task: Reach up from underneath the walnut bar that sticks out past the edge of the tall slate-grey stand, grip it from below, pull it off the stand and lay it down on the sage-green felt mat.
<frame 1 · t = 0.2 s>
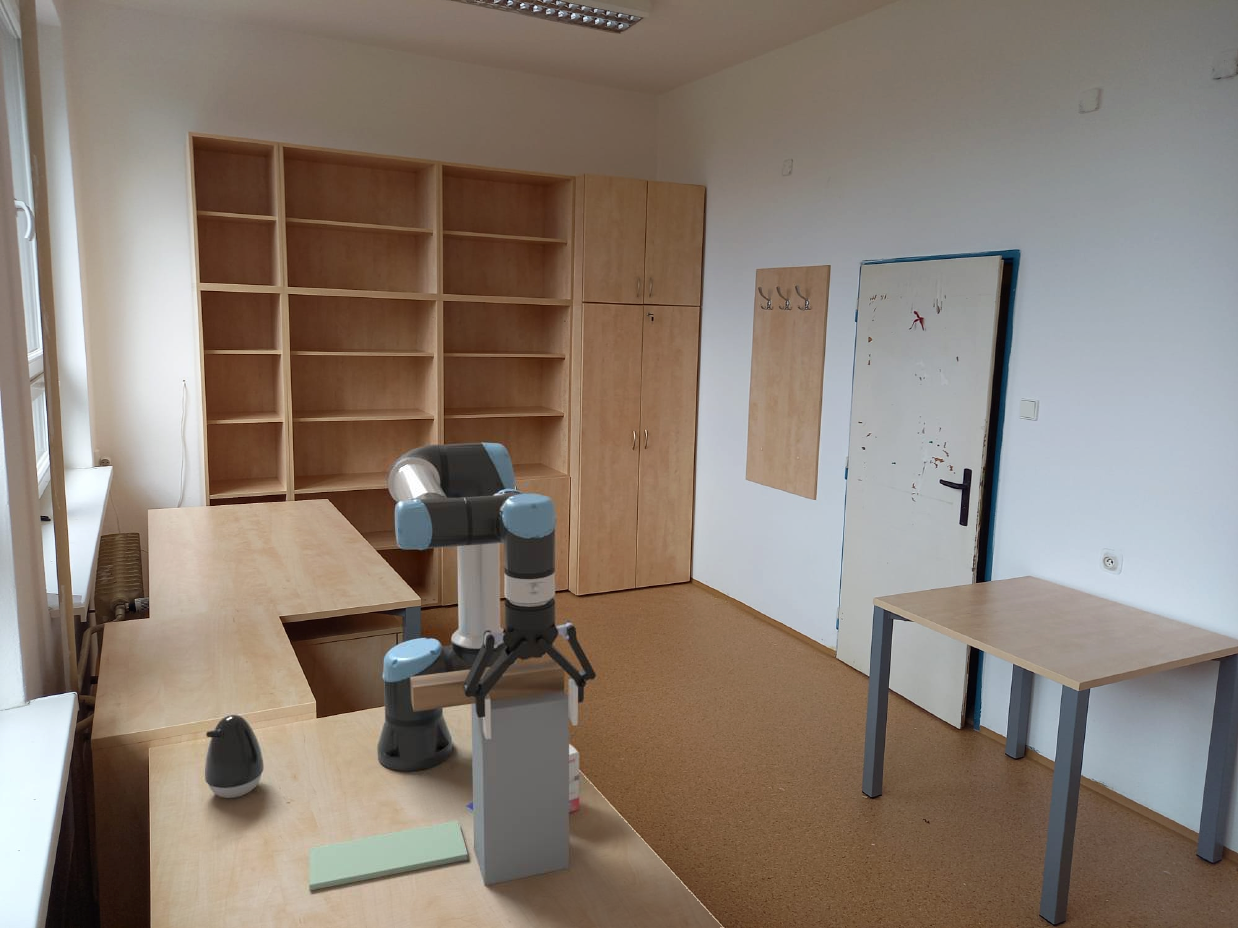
hand: (530, 727, 132), 27 cm above the table, tool pointing down, fingers open, 13 cm apart
mat: (388, 855, 144), on the table
pump dispenser: (235, 791, 162), on the table
walnut bar: (488, 695, 137), point 30 cm above the table, touching stand
ink box: (553, 810, 158), on the table
stand: (520, 858, 144), on the table
hard drive: (505, 806, 160), on the table
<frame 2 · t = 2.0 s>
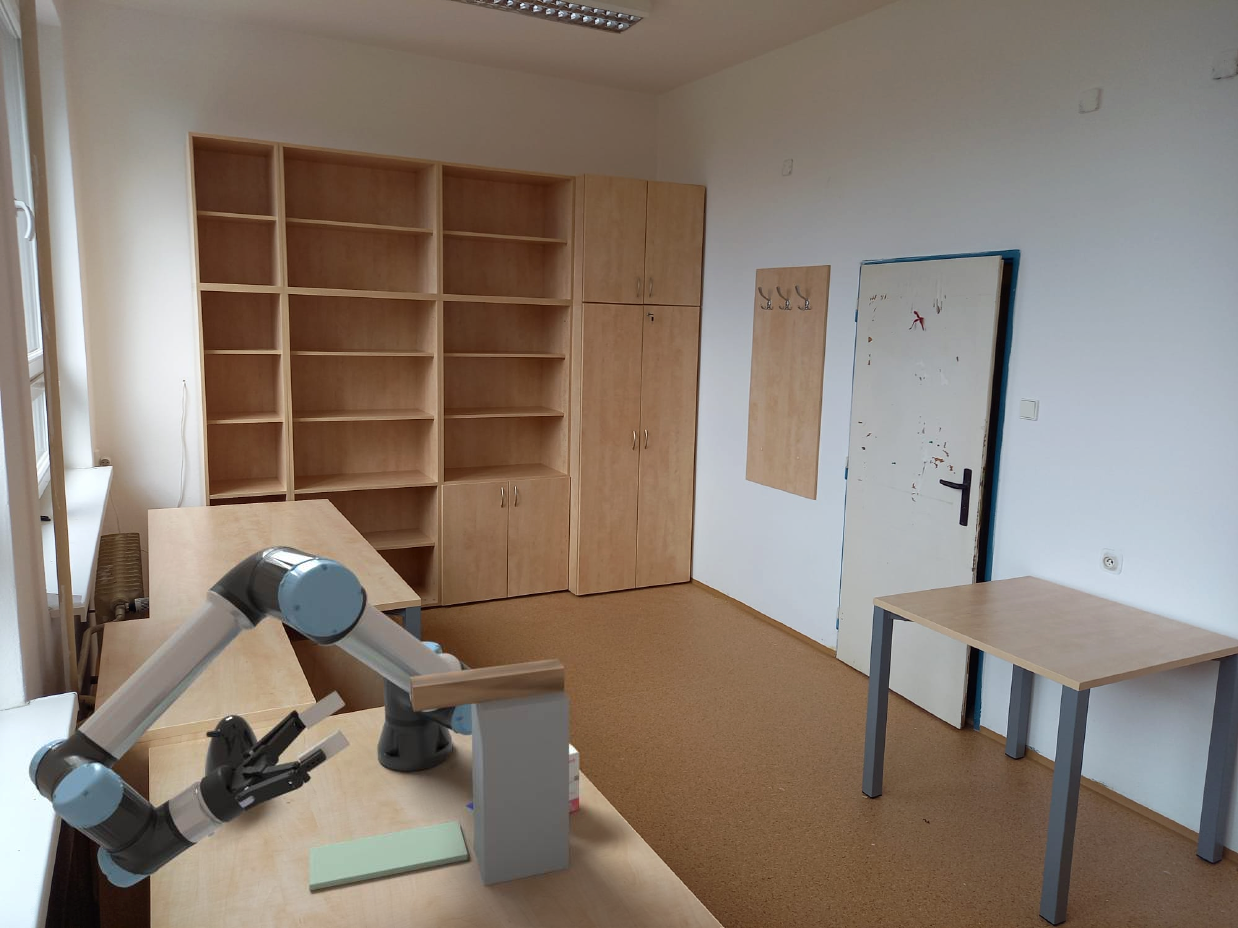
hand: (342, 716, 129), 30 cm above the table, tool pointing upward, fingers open, 13 cm apart
nothing on the table moved.
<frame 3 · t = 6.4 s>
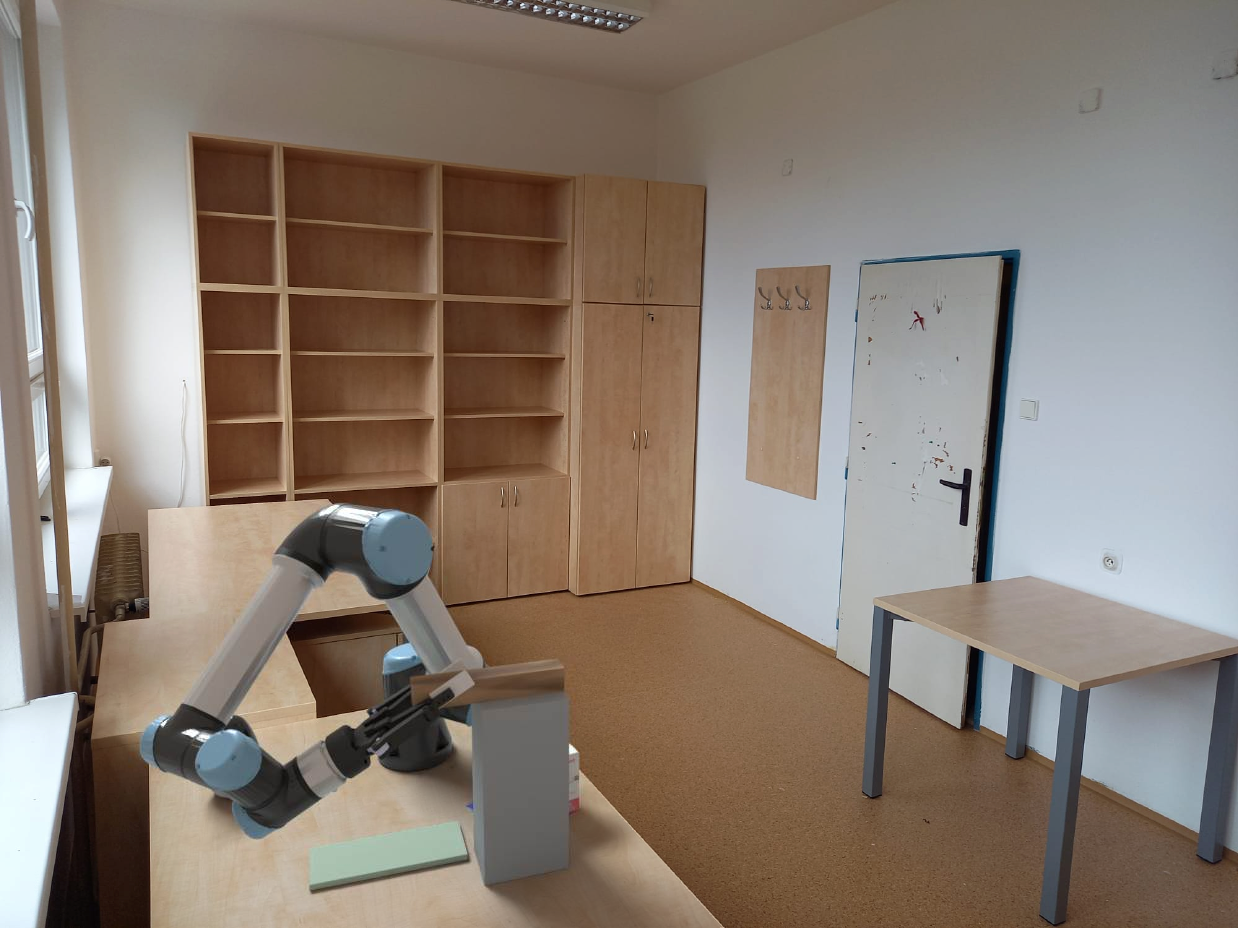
hand: (467, 670, 135), 35 cm above the table, tool pointing upward, fingers closed on walnut bar, 4 cm apart
walnut bar: (488, 695, 137), point 30 cm above the table, touching gripper, stand
everything else where it was.
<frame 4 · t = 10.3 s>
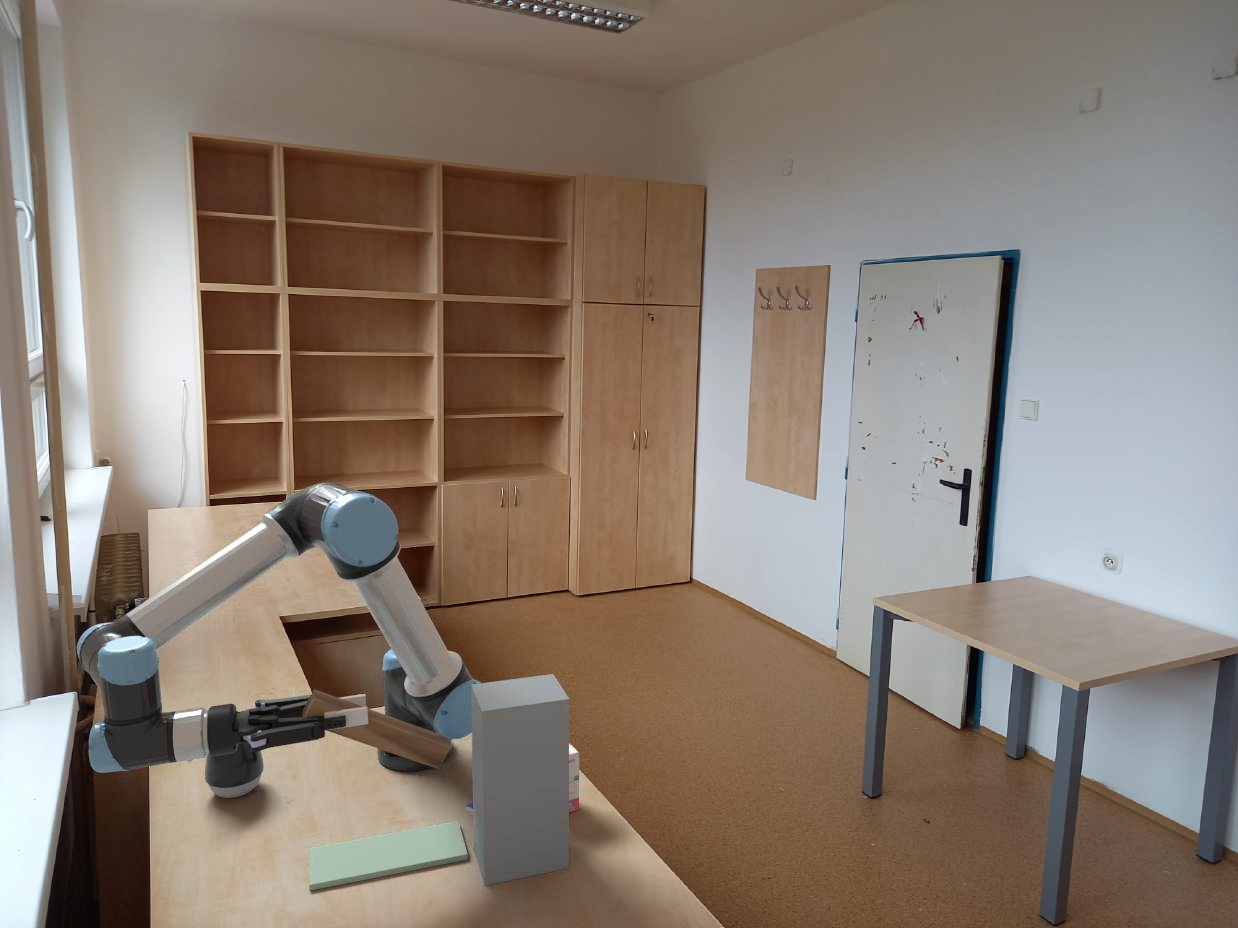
hand: (366, 708, 138), 27 cm above the table, tool horizontal, fingers closed on walnut bar, 4 cm apart
walnut bar: (371, 740, 140), point 21 cm above the table, tilted 29°, touching gripper
everything else where it was.
when the fingers open (14 cm above the table, at t = 13.1 s): walnut bar drops 7 cm, resting on mat.
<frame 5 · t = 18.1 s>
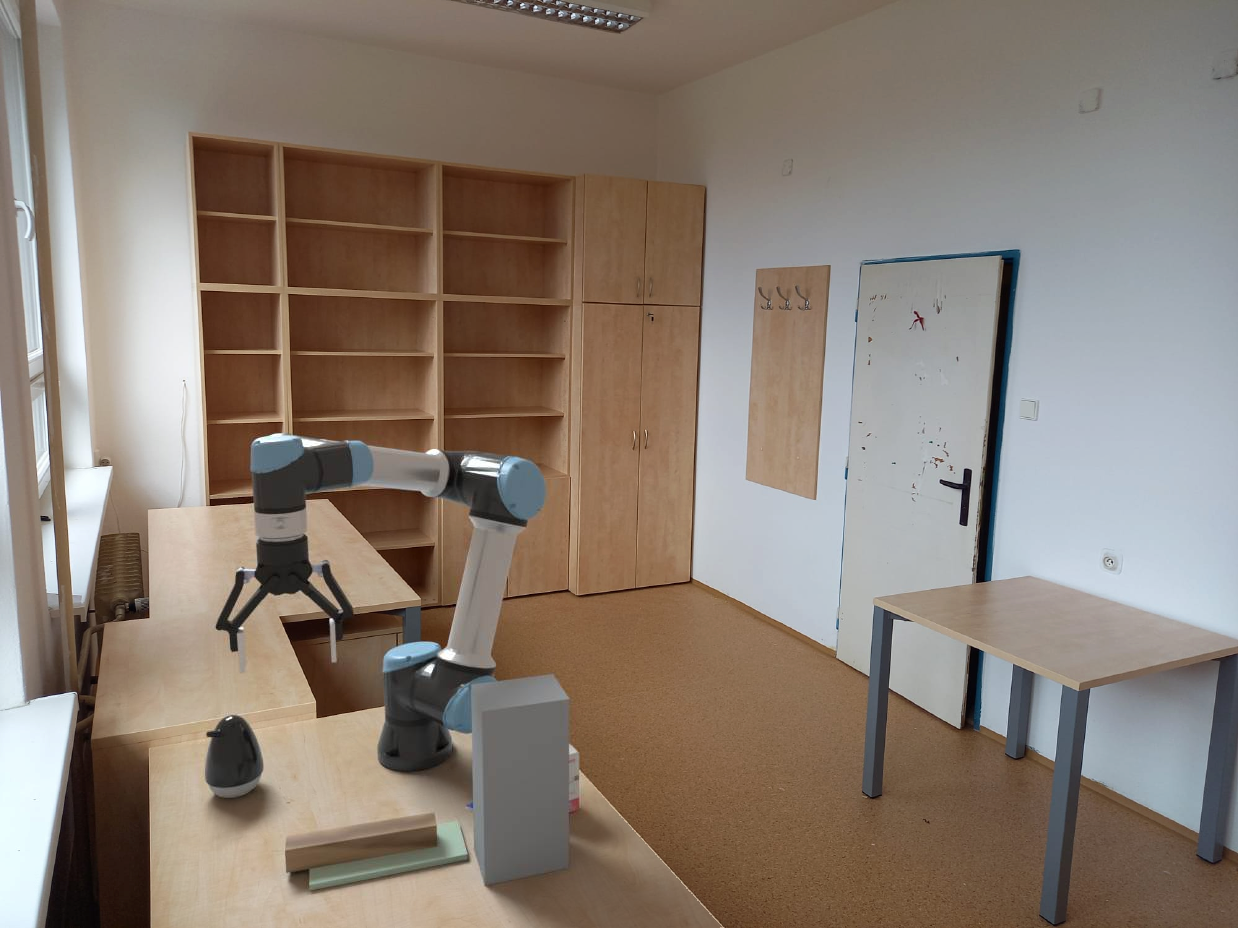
hand: (289, 664, 136), 35 cm above the table, tool pointing down, fingers open, 13 cm apart
walnut bar: (363, 852, 143), point 1 cm above the table, touching mat
everything else where it was.
at the end: walnut bar inside the target area on the mat (4.1 cm from its centre), point 1.0 cm above the mat's base; walnut bar point 1.0 cm above the table; the gripper is holding nothing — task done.
